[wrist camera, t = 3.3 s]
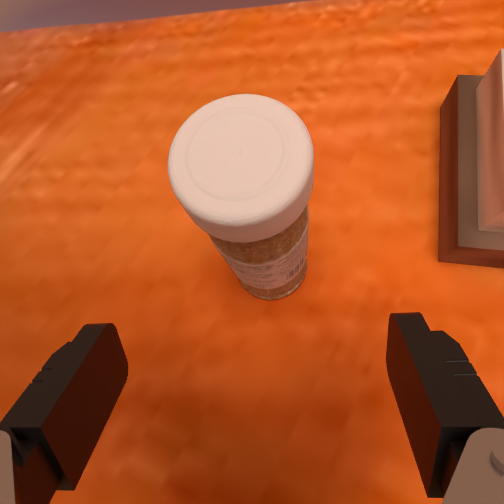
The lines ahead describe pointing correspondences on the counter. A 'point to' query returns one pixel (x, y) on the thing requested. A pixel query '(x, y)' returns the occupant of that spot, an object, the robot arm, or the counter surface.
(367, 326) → the counter surface
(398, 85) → the counter surface
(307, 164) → the sprinkles bottle
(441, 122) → the stand
